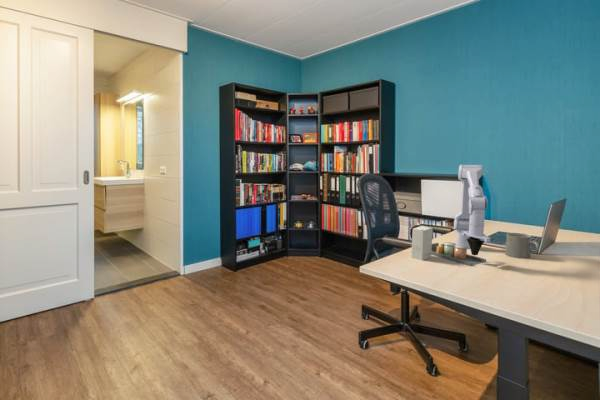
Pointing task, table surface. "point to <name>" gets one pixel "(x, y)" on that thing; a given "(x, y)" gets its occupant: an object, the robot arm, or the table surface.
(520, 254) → the coffee mug
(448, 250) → the jar
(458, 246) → the jar
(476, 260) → the grey rectangular tray
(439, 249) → the pusher
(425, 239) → the skincare box
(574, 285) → the table surface
